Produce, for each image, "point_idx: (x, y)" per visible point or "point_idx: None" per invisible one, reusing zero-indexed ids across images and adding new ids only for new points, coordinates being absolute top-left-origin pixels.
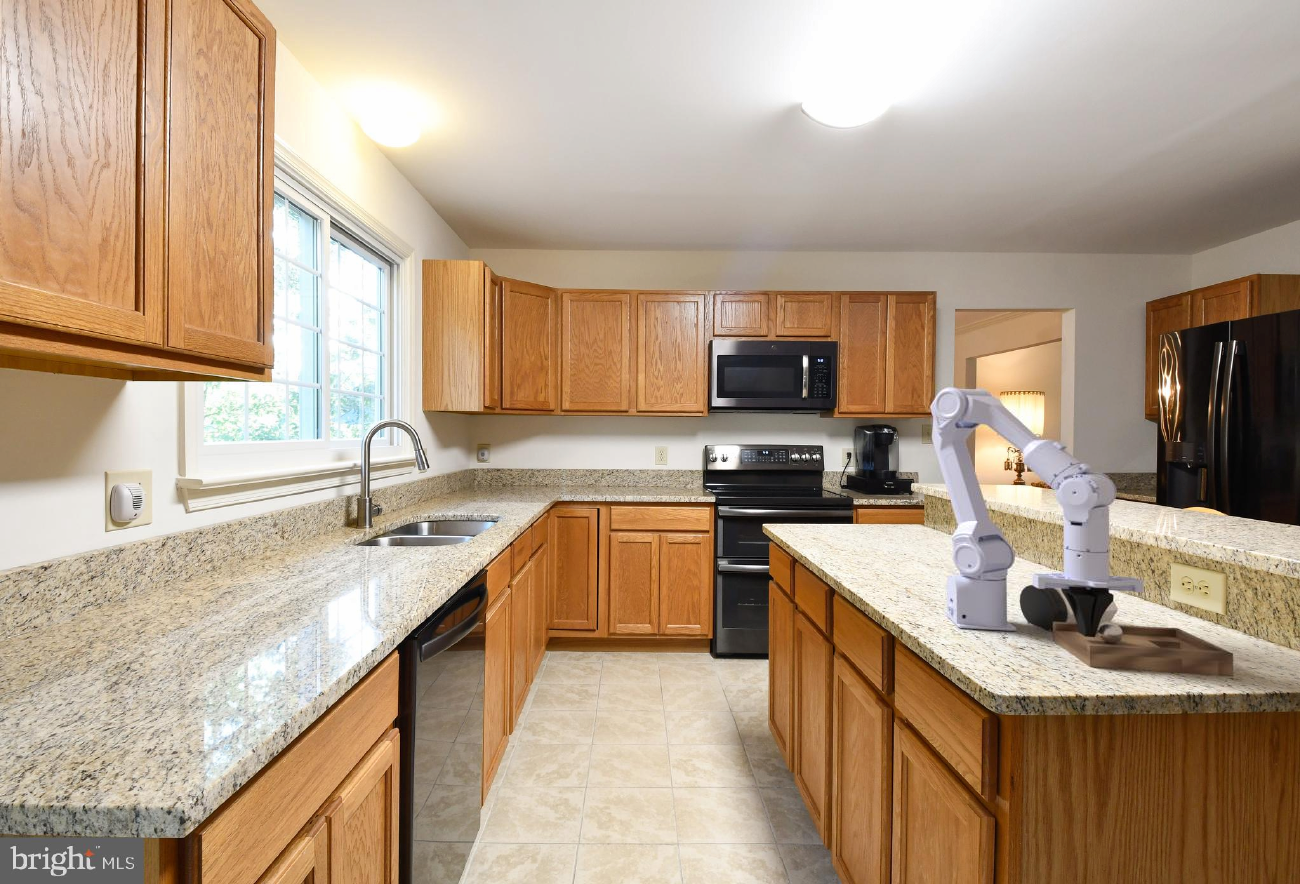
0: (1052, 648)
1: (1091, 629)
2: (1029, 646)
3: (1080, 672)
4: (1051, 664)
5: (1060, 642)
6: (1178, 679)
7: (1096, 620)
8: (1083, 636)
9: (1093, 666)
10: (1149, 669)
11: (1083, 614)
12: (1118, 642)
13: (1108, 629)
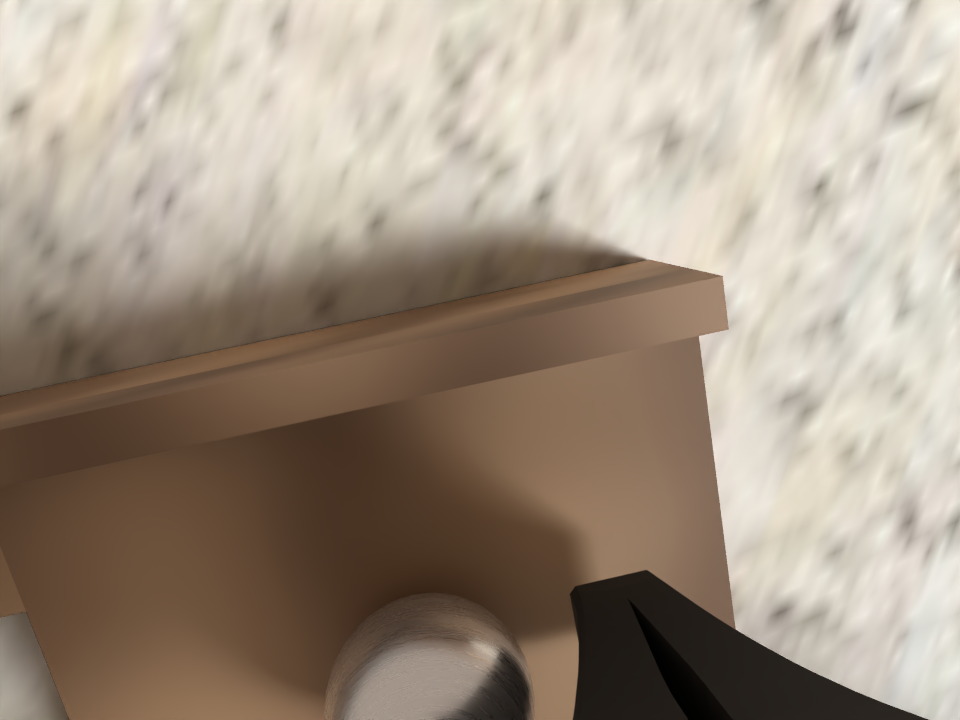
0: (772, 573)
1: (631, 610)
2: (914, 553)
3: (757, 103)
4: (902, 208)
5: None
6: (94, 226)
7: (623, 673)
8: None
9: (626, 266)
10: (246, 346)
11: (814, 673)
12: None
13: (470, 659)
